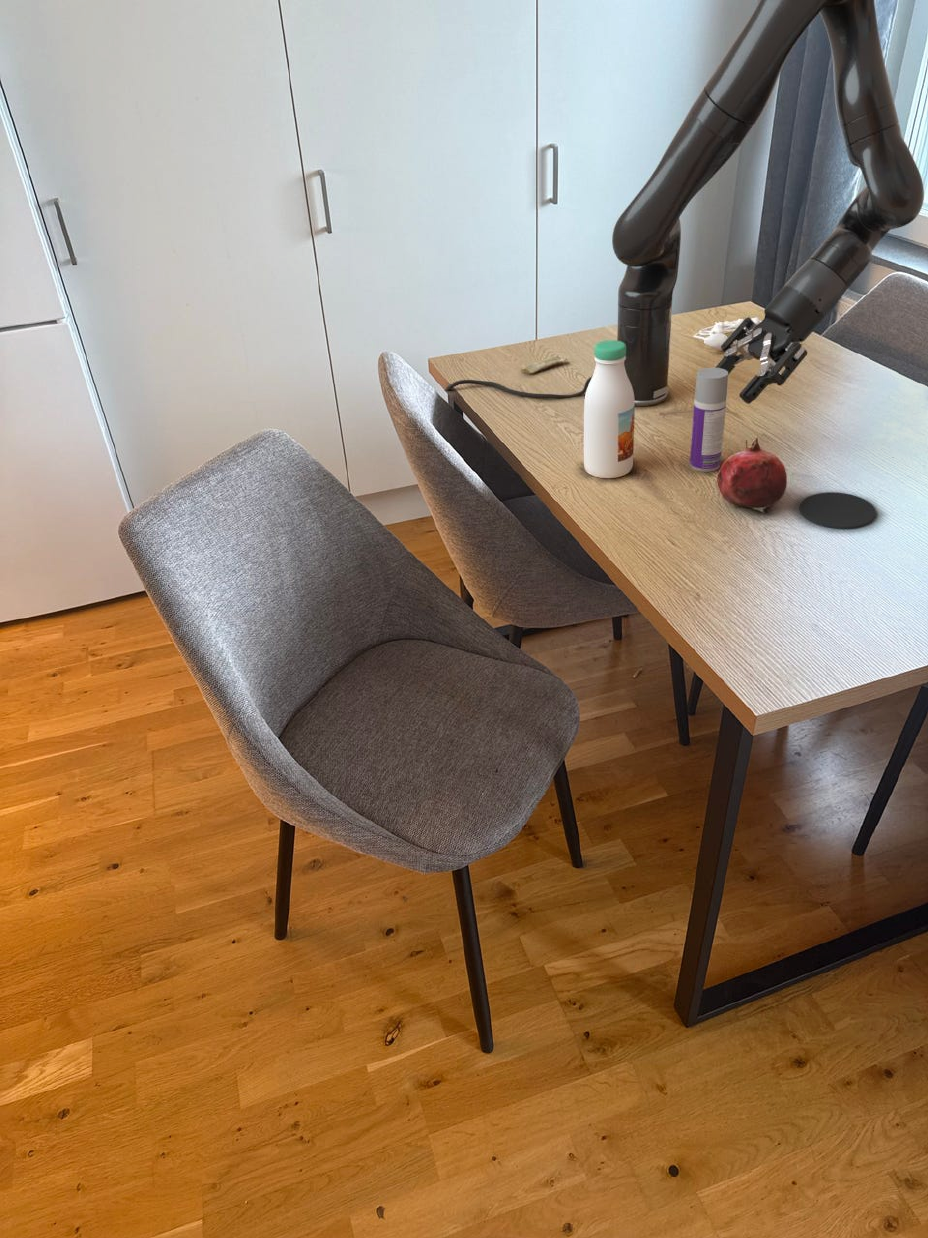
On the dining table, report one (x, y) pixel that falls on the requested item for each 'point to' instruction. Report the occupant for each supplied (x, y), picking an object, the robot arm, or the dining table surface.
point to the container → (708, 419)
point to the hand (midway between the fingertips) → (728, 390)
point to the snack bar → (543, 364)
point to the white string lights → (720, 333)
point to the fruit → (752, 478)
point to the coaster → (837, 510)
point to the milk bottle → (609, 414)
